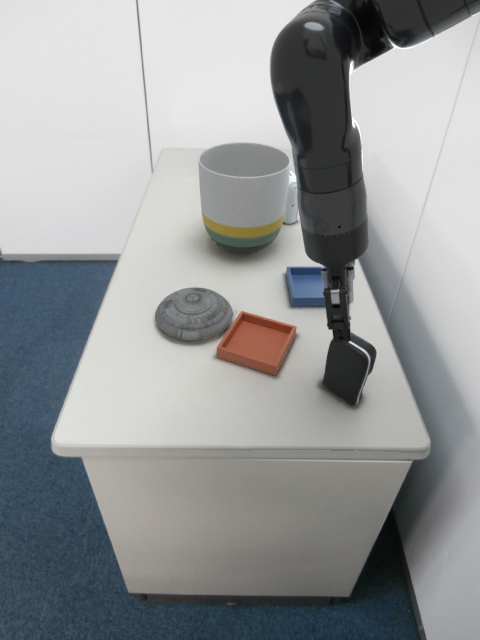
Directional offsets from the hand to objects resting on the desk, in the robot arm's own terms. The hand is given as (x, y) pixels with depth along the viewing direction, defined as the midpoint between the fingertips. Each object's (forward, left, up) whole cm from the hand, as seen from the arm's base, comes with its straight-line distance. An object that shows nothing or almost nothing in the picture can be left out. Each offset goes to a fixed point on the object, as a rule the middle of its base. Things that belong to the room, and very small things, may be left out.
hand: (343, 317), depth 62 cm
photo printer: (+27, -58, -18) cm, 66 cm away
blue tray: (+10, -29, -18) cm, 35 cm away
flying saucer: (+29, -10, -18) cm, 35 cm away
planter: (+31, -39, -18) cm, 53 cm away
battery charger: (-2, -4, -18) cm, 19 cm away
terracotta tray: (+15, -8, -18) cm, 24 cm away
